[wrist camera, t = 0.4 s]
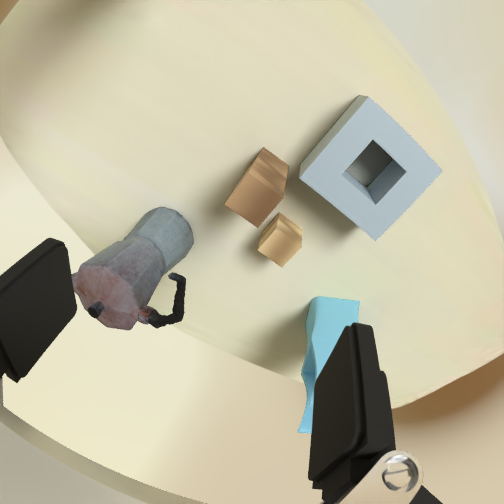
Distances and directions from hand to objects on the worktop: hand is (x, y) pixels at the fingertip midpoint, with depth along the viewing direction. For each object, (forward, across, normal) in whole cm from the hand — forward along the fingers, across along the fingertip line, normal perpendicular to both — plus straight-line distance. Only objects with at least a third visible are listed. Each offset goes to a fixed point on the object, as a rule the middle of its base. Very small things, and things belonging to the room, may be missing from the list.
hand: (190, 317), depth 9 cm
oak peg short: (+33, -3, +12) cm, 35 cm away
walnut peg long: (+33, +1, +4) cm, 33 cm away
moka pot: (+33, +14, +16) cm, 39 cm away
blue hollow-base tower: (+34, -15, +25) cm, 44 cm away
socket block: (+33, -11, -1) cm, 35 cm away
